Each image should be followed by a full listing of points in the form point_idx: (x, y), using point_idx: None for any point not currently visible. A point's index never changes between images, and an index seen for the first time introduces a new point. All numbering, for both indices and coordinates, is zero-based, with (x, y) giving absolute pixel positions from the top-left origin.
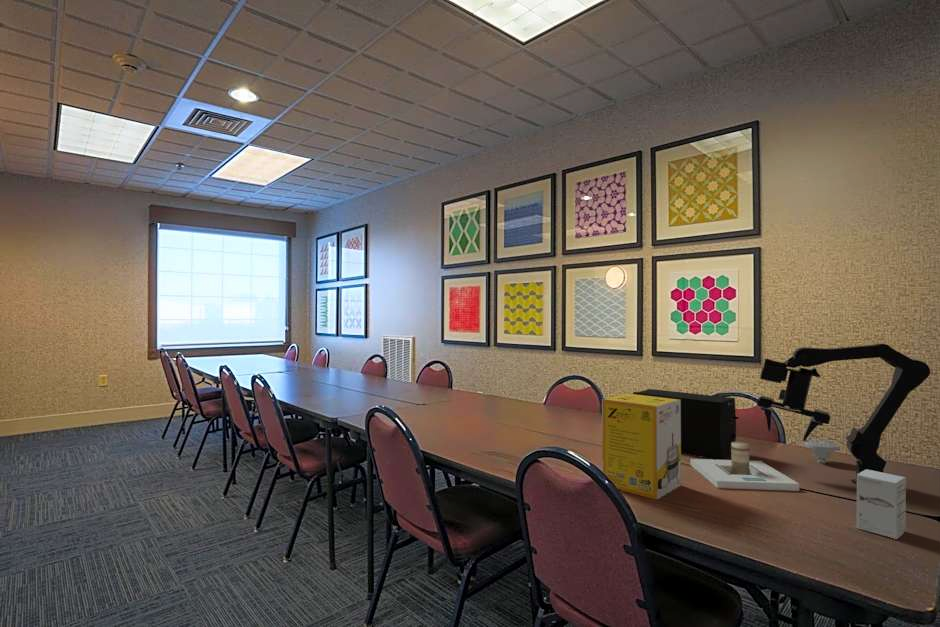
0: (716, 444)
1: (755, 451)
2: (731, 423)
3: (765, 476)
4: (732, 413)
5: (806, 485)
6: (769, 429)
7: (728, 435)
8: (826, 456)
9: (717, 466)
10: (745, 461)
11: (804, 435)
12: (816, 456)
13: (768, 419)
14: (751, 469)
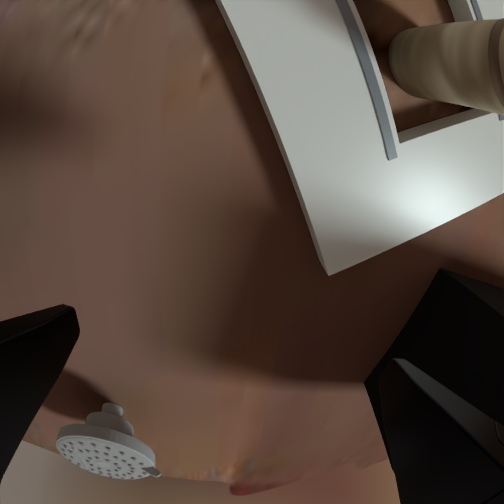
0: (490, 300)
1: (296, 423)
2: None
3: None
4: None
5: (138, 45)
6: (404, 367)
7: None
8: (92, 417)
9: None
10: (456, 22)
11: (40, 339)
12: (120, 417)
13: (501, 435)
14: (388, 115)
